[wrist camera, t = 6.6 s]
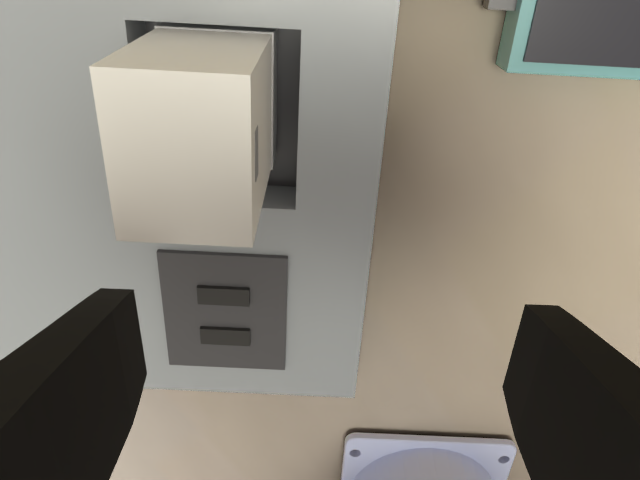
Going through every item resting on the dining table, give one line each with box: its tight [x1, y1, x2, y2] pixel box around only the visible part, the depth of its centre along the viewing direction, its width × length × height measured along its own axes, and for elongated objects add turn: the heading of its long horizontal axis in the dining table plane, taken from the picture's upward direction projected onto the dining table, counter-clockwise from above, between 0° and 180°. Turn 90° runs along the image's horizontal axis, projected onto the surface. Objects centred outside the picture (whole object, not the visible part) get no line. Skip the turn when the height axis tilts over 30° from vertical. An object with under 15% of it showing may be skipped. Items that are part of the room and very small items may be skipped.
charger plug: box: [89, 22, 278, 248], centre depth 15 cm, size 4×3×6 cm
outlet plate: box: [0, 0, 400, 398], centre depth 18 cm, size 18×14×2 cm
